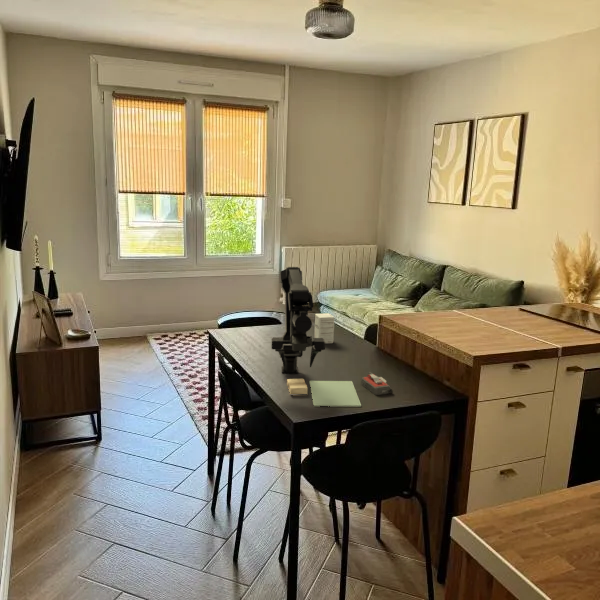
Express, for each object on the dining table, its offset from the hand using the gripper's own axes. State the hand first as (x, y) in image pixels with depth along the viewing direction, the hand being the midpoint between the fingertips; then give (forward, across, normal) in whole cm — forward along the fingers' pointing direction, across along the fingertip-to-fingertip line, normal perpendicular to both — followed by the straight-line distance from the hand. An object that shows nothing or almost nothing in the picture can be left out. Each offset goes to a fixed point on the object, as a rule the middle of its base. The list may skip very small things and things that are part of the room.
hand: (297, 366), depth 190 cm
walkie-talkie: (+10, +29, +6) cm, 31 cm away
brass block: (+9, 0, 0) cm, 9 cm away
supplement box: (+9, +15, +60) cm, 62 cm away
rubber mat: (+9, +13, -3) cm, 16 cm away
